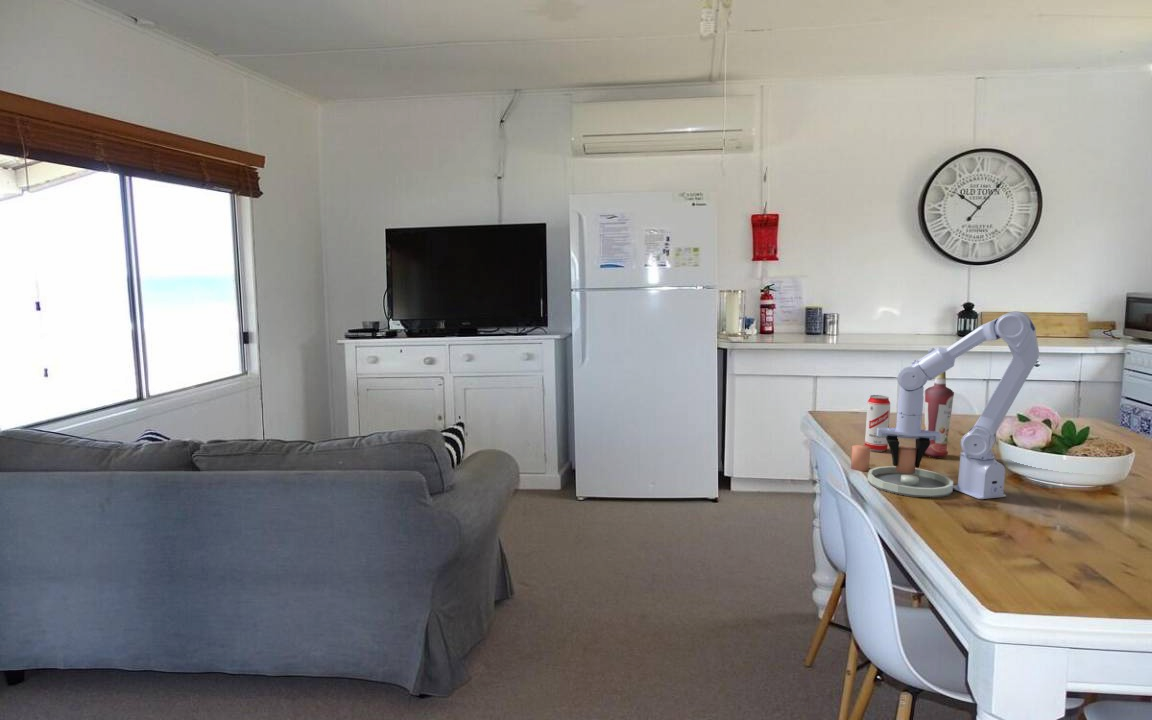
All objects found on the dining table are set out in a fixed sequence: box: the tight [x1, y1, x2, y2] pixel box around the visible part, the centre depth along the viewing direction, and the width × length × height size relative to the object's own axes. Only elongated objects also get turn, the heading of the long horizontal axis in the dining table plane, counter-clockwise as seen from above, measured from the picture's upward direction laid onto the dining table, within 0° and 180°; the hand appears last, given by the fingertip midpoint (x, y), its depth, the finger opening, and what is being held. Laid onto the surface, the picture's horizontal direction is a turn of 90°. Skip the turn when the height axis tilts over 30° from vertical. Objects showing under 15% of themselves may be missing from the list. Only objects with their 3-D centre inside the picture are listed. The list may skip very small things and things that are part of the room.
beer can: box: [864, 394, 891, 453], centre depth 212 cm, size 6×6×16 cm
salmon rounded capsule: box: [896, 445, 917, 474], centre depth 183 cm, size 4×4×6 cm
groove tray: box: [867, 465, 954, 499], centre depth 178 cm, size 19×19×2 cm
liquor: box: [923, 371, 955, 459], centre depth 205 cm, size 7×7×28 cm
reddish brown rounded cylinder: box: [850, 444, 871, 472], centre depth 192 cm, size 4×4×6 cm
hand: (905, 465), depth 183 cm, fingers closed on salmon rounded capsule, 4 cm apart
